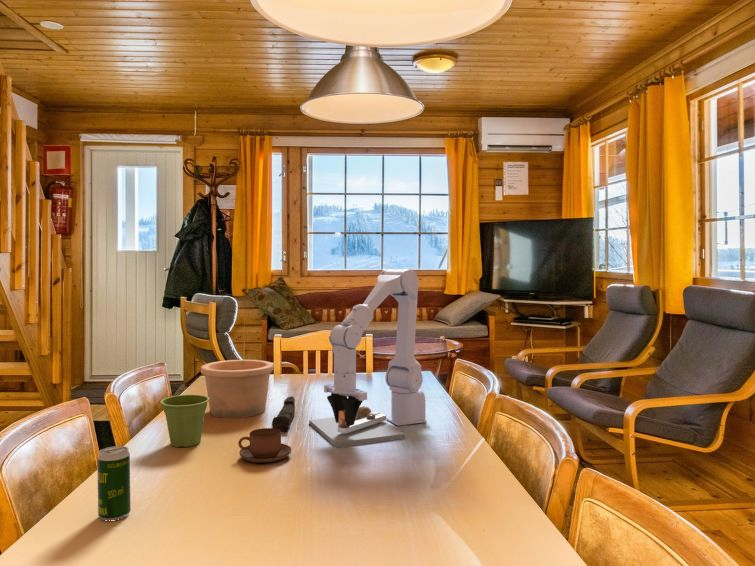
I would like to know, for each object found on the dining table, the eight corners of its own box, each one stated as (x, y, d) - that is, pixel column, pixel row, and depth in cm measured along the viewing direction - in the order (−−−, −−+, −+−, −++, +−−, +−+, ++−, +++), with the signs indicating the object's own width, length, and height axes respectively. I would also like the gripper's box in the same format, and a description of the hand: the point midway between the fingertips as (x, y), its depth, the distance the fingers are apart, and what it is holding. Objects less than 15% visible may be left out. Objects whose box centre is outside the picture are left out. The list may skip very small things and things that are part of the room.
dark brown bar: (289, 433, 159) (289, 413, 159) (271, 433, 159) (271, 413, 159) (302, 412, 182) (302, 395, 182) (287, 412, 182) (287, 394, 182)
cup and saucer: (247, 470, 131) (246, 442, 131) (233, 454, 142) (233, 429, 141) (298, 462, 136) (298, 435, 136) (282, 447, 147) (281, 423, 147)
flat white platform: (370, 417, 175) (370, 402, 175) (404, 438, 154) (404, 421, 154) (309, 424, 168) (309, 408, 168) (335, 447, 147) (335, 429, 147)
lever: (374, 417, 169) (374, 397, 168) (387, 420, 166) (387, 399, 165) (331, 431, 155) (331, 409, 154) (344, 435, 152) (344, 411, 151)
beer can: (121, 507, 111) (121, 443, 110) (136, 515, 107) (135, 449, 107) (92, 516, 106) (91, 450, 106) (106, 525, 103) (105, 457, 103)
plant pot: (150, 447, 146) (149, 402, 146) (181, 434, 157) (181, 392, 157) (190, 453, 142) (189, 406, 142) (219, 439, 153) (219, 396, 153)
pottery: (222, 424, 167) (221, 374, 167) (189, 410, 184) (188, 364, 183) (287, 412, 182) (286, 365, 181) (251, 399, 198) (251, 357, 198)
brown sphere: (368, 417, 171) (368, 404, 171) (373, 420, 168) (373, 407, 168) (356, 418, 170) (356, 405, 169) (361, 421, 166) (361, 408, 166)
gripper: (315, 369, 155) (315, 421, 156) (352, 377, 145) (352, 432, 145) (335, 366, 160) (335, 416, 161) (373, 373, 150) (372, 426, 150)
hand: (344, 423), depth 153 cm, fingers open, 4 cm apart
